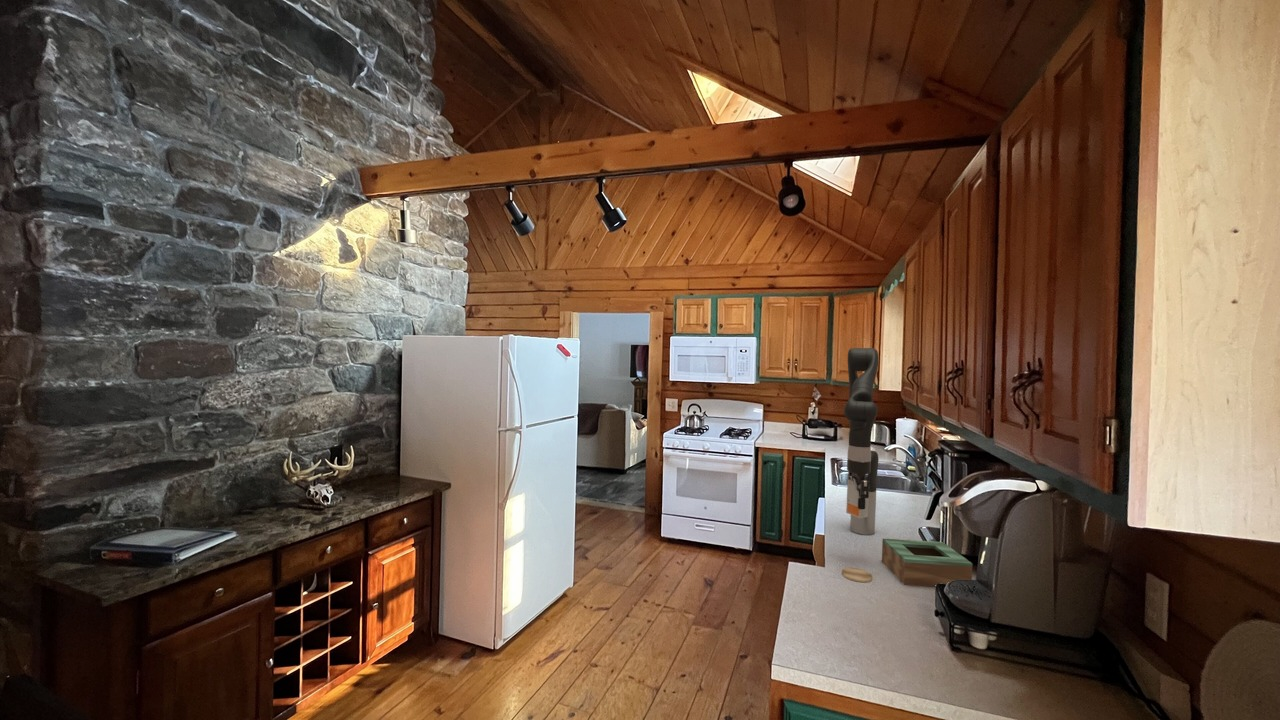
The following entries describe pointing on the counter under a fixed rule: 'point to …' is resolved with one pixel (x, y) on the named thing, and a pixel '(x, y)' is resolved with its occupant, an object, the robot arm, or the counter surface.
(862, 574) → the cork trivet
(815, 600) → the counter surface
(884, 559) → the caddy
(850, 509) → the skincare box
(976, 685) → the counter surface
